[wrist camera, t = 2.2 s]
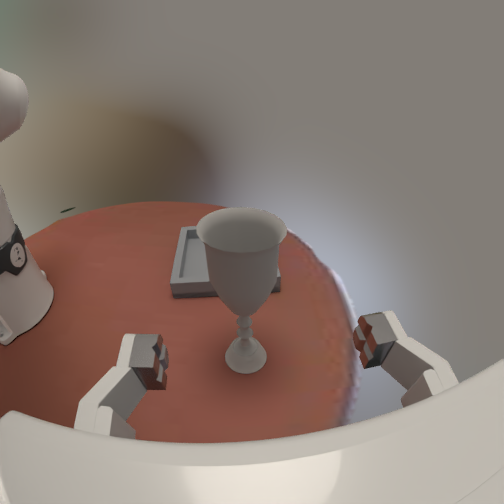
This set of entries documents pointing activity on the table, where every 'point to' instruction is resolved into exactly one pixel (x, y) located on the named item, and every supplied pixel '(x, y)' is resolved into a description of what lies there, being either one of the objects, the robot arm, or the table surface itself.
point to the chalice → (242, 271)
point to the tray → (194, 268)
